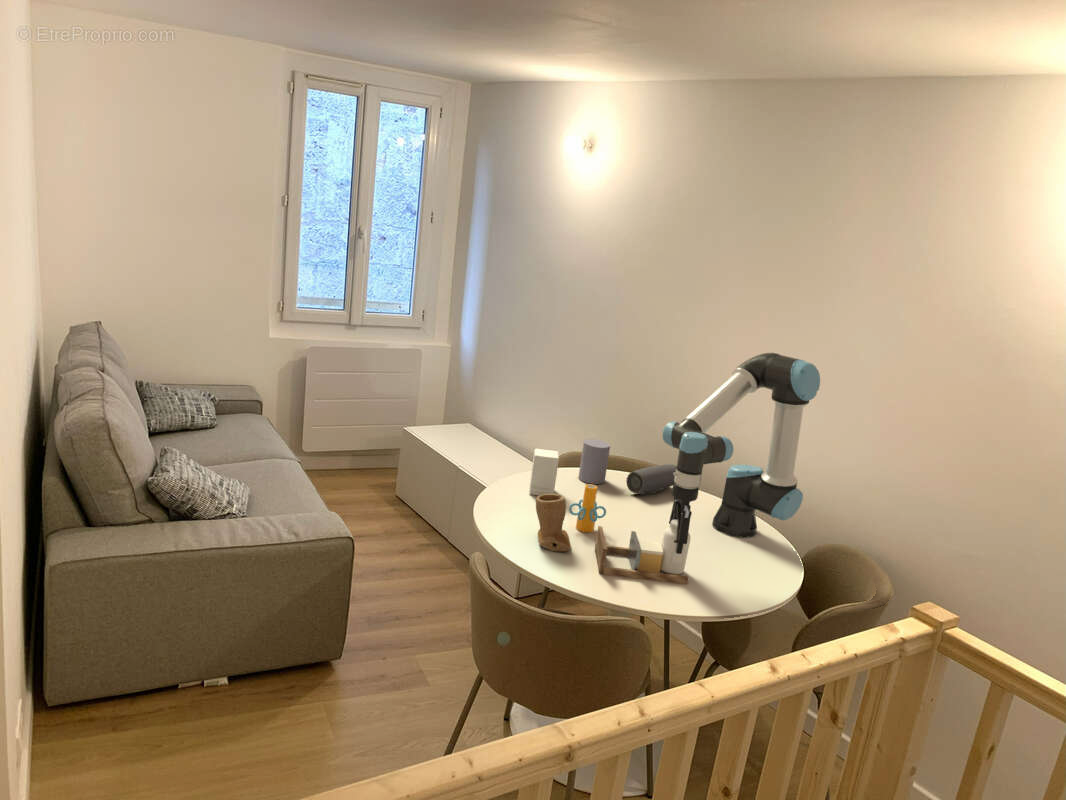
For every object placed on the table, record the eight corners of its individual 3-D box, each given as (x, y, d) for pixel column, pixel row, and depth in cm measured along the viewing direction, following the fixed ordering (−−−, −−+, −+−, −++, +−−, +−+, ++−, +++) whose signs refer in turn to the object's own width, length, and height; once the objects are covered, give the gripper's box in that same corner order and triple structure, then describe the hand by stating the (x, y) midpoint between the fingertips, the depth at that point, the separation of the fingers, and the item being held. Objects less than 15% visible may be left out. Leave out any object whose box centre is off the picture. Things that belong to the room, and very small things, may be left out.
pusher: (631, 555, 247) (635, 531, 245) (637, 575, 234) (641, 550, 232) (627, 555, 247) (631, 531, 245) (633, 574, 234) (637, 549, 232)
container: (576, 481, 307) (582, 444, 304) (579, 473, 317) (585, 437, 314) (603, 486, 306) (609, 449, 303) (605, 478, 316) (611, 442, 312)
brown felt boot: (530, 530, 256) (536, 486, 253) (567, 534, 257) (573, 491, 253) (531, 550, 241) (537, 504, 238) (570, 555, 242) (577, 509, 238)
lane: (677, 559, 249) (681, 536, 247) (687, 584, 233) (692, 559, 231) (594, 550, 248) (598, 526, 246) (599, 574, 232) (603, 548, 230)
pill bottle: (684, 577, 236) (693, 530, 232) (657, 571, 237) (665, 524, 234) (684, 566, 244) (693, 520, 240) (658, 560, 245) (666, 515, 241)
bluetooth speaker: (660, 483, 319) (664, 459, 316) (679, 491, 312) (683, 467, 310) (623, 491, 303) (627, 466, 301) (641, 500, 297) (646, 475, 294)
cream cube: (655, 563, 244) (659, 542, 242) (659, 574, 237) (663, 552, 235) (632, 560, 244) (636, 539, 242) (635, 571, 237) (639, 549, 235)
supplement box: (553, 497, 287) (559, 458, 284) (528, 494, 287) (534, 455, 284) (553, 489, 296) (558, 450, 293) (529, 486, 296) (534, 447, 292)
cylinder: (590, 539, 255) (596, 495, 252) (562, 529, 260) (568, 486, 257) (607, 528, 266) (614, 486, 262) (580, 519, 271) (586, 477, 267)
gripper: (667, 471, 244) (655, 540, 249) (680, 495, 224) (667, 570, 229) (691, 474, 244) (679, 543, 250) (706, 498, 224) (692, 572, 229)
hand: (673, 555), depth 239 cm, fingers closed on pill bottle, 8 cm apart
